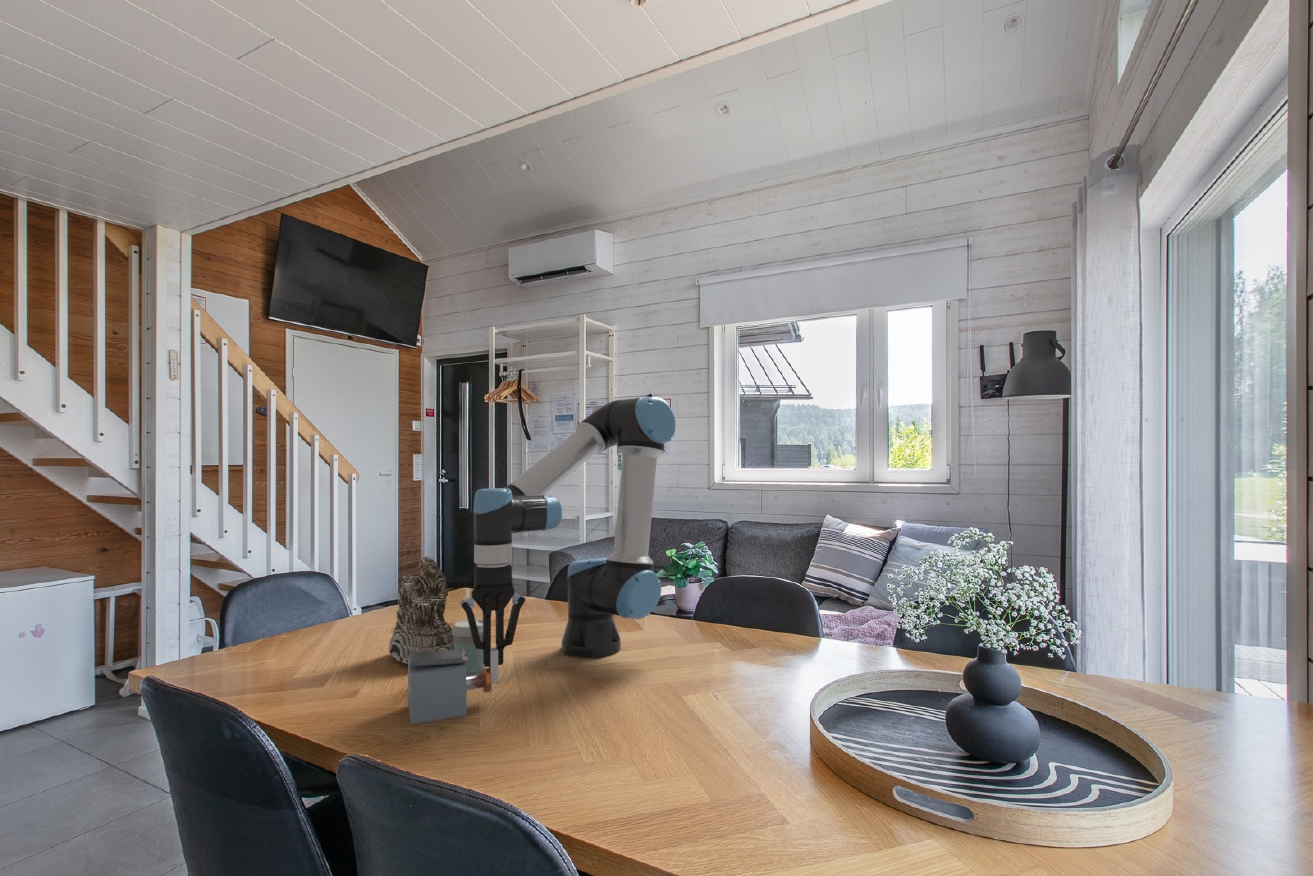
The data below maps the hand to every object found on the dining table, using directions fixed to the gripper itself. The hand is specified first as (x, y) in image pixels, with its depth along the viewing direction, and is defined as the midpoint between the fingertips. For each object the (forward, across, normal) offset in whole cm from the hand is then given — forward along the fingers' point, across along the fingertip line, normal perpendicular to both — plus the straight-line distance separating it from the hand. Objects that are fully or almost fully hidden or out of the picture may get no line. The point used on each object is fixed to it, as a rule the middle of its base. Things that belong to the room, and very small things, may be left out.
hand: (493, 681), depth 131 cm
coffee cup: (+4, +2, -18) cm, 19 cm away
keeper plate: (-6, +11, 0) cm, 12 cm away
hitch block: (+4, +11, 0) cm, 12 cm away
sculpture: (+4, +11, -37) cm, 39 cm away
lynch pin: (+2, +8, 0) cm, 9 cm away
